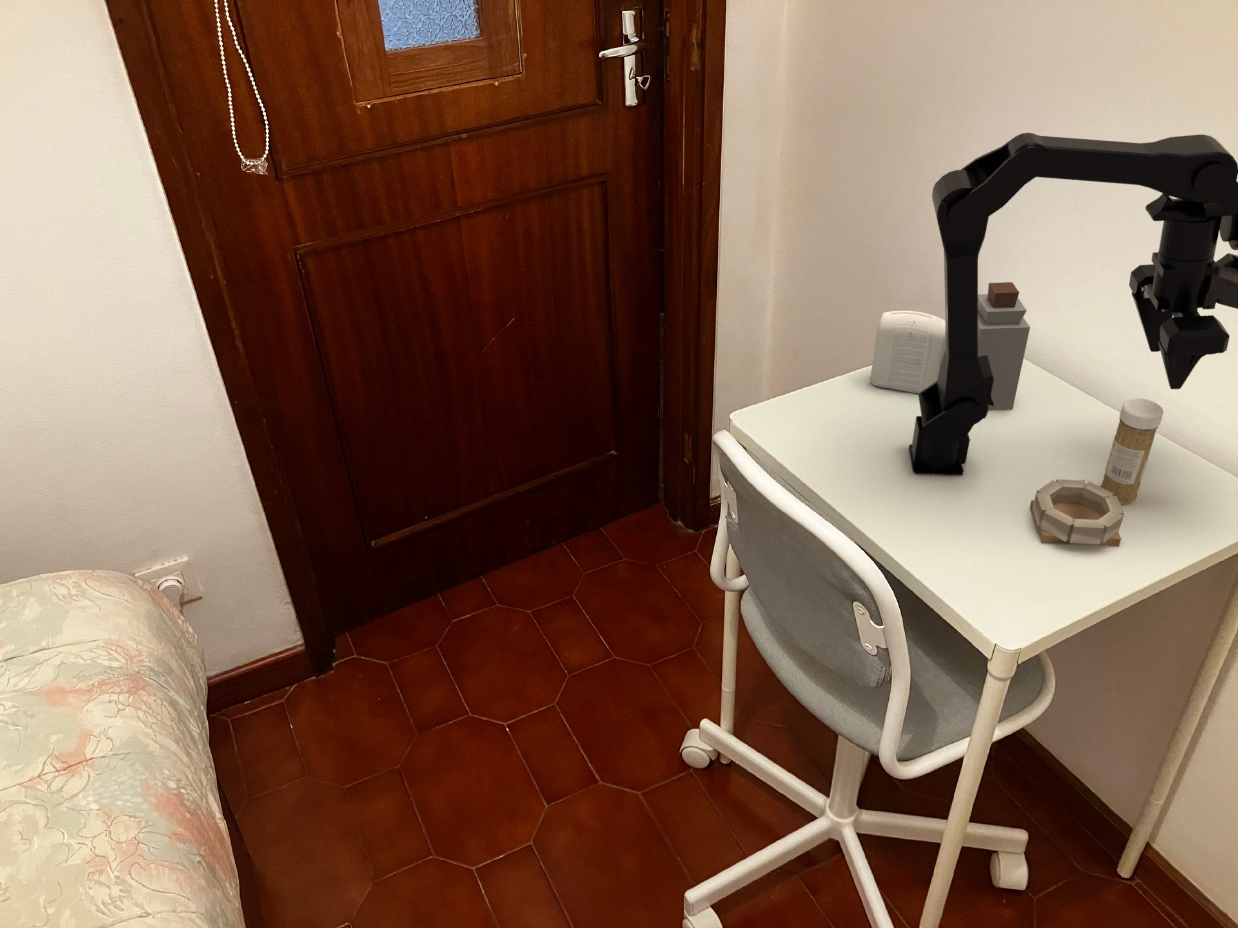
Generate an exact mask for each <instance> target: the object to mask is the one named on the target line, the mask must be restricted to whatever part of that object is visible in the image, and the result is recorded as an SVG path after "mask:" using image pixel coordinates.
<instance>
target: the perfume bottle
mask: <svg viewBox="0 0 1238 928" xmlns="http://www.w3.org/2000/svg"><path fill="white" fill-rule="evenodd" d="M987 288H988V289H987V293H984V294H983V293H982V294H979V293H978V357H980V356H984V355H988V358H989V362H990V366H991V369H992V373H993V377H994V380H993V387H992V391H991V394H992V397H993V401H994V406H991V405H988V407H989V408H988V412H989V411H1013V409H1014V404H1015V401H1016V394H1017V390H1018V386H1019V381H1020V376H1021V372H1022V367H1023V364H1024V363H1023V362H1024V358H1025V353H1026V349H1027V344H1028V340H1029V335H1030V329H1031V326H1030V325H1029V323H1028V322H1027V320H1026V318H1025V317H1024V316H1025V315H1026V312H1027V309H1026V307H1025V306H1024V304H1023V303H1022V301H1021V300H1020V299H1019V294H1020V291H1019V290H1018V288H1017V286H1016V285H1015V284H1014V283H1013V282H1012V281H1011V282H1010V281H1006V282H1005V281H1004V282H988V287H987Z"/></svg>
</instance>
